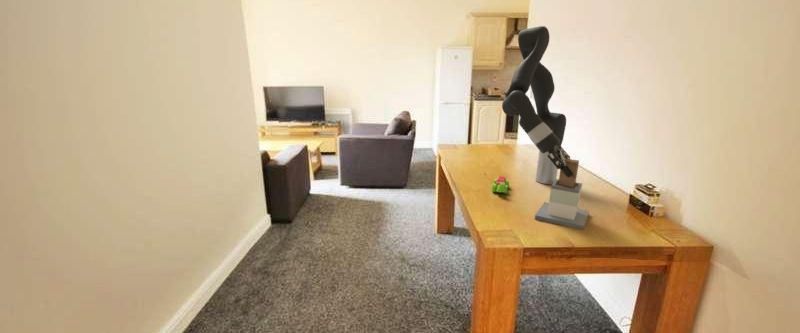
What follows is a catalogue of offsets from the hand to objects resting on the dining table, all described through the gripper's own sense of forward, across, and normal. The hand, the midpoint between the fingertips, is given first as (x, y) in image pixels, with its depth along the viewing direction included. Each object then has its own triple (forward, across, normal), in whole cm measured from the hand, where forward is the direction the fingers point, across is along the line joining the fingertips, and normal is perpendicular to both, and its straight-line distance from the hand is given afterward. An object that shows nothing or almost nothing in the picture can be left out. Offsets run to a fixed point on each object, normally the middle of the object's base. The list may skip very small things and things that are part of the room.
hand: (572, 173), depth 127 cm
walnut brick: (+3, 0, +5) cm, 6 cm away
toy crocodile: (-9, +17, +34) cm, 39 cm away
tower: (+11, 0, +13) cm, 17 cm away
